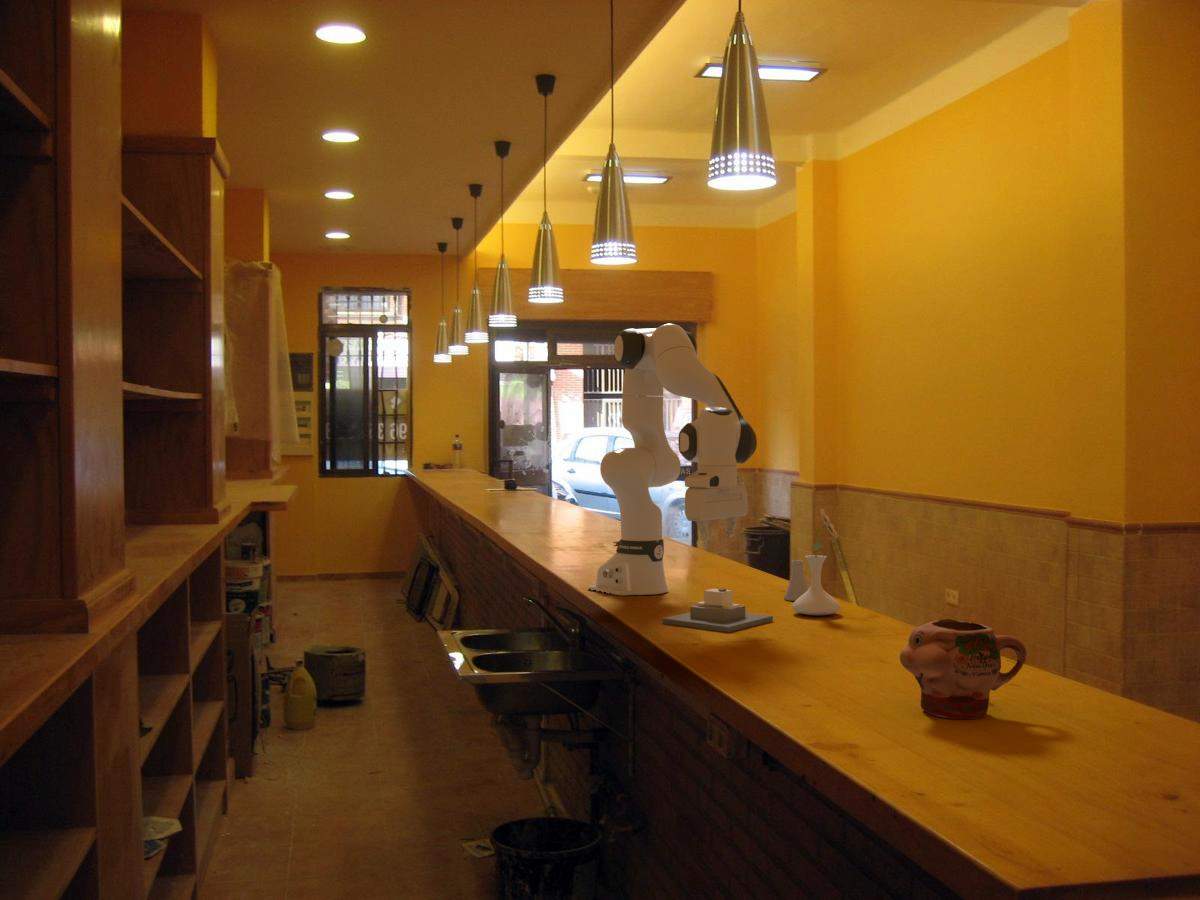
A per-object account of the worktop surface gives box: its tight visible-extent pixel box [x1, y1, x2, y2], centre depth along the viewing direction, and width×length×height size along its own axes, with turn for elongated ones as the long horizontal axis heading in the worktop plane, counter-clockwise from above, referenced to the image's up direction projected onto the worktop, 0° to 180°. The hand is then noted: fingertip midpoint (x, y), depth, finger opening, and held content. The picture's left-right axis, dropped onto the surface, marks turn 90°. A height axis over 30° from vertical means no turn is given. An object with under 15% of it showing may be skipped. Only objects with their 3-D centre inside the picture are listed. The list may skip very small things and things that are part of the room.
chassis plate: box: [662, 604, 774, 634], centre depth 260 cm, size 18×18×4 cm
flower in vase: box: [791, 508, 841, 616], centre depth 270 cm, size 13×11×25 cm
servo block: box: [695, 588, 741, 609], centre depth 260 cm, size 9×4×6 cm, turn 49°
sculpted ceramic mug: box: [899, 618, 1027, 720], centre depth 179 cm, size 20×12×14 cm, turn 99°
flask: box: [783, 559, 809, 602], centre depth 293 cm, size 7×7×10 cm
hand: (717, 538), depth 261 cm, fingers open, 8 cm apart
